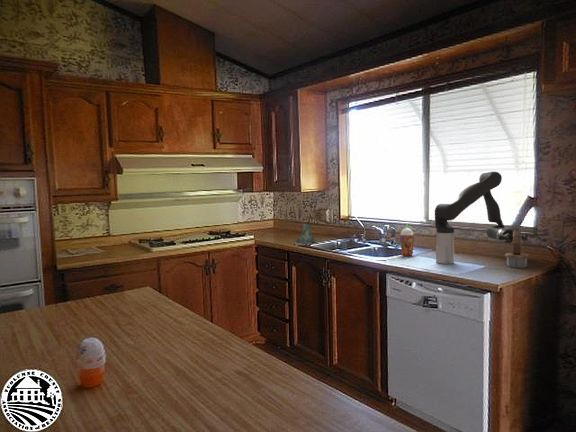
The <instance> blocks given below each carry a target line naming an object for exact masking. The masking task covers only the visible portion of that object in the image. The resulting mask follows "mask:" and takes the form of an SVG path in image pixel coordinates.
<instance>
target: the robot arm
mask: <svg viewBox="0 0 576 432" xmlns="http://www.w3.org/2000/svg"><path fill="white" fill-rule="evenodd" d="M502 178H503V177H502V175H501V173H500V172H498V171H489V172H484V173H482V174H480V176H479V178H478V182H476V183H473V184H471V185H469V186H467V187H466V188H464V189H463V190H461V191H460V192H459V195H458V198H457V200H456V201H454V202H452V203H439V204H437V205H436V206H435V209H434V225H435V226H434V227H435V229H436V245H435V263H436V264H443V265H450V264H455V227H453V226H451V224H449V221H454V220H455V219H456V218H457V217H458V216H459V215H461V214H462V212H464V210H466V209H467V208H468V207H470V206H471V205H472V204H474V203H475V202H476V201H478V200H479V199H480V198H482V197H483V200H484V202H485V206H486V212H487V220H488V222H489V223H496V224H498V225H492V226H489V227H487V229H486V235H487V237H488V238H489V239H491V240H493V239H495V240H498V241H500V242H501V241H502V242H504V243H505V244H511V243H513V231H514V230H512V229H510V228H507V227H505V226H504V223H503V220H502V218H501V217H502V215H501V210H500V206H499V203H498V202H497V200H495V198H494V196H493V194H492V192H491V190H493V189H495V188H497V187H499V186H500V185H501V183H502V180H503V179H502ZM528 237H529V235H528V234H524V233H521V241H524V242H527V241H528V240H529V238H528Z"/></svg>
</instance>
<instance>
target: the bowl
mask: <svg viewBox="0 0 576 432" xmlns="http://www.w3.org/2000/svg"><path fill="white" fill-rule="evenodd" d="M506 265H507V267H509V268H519V269H522V268H527V266H528V258H523V259H517V258H508V257H506Z"/></svg>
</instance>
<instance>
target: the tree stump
mask: <svg viewBox="0 0 576 432" xmlns="http://www.w3.org/2000/svg"><path fill="white" fill-rule="evenodd" d="M302 226H303V227H302V231H301V234H300V235H299V236H298V237H297V239H295V240H294V241H293V242H296V243H301V244H309V243H313V242H314V243H315V242H316V241H317V238H314V237H313V235H312V225H311V224H307V223H303V225H302ZM314 243H313V244H314Z"/></svg>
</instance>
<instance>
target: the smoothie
mask: <svg viewBox="0 0 576 432" xmlns="http://www.w3.org/2000/svg"><path fill="white" fill-rule="evenodd" d="M399 235H400V249H401V255H402V256H403V257H411V256H412V257H413V254H414V253H413V252H414V235H415V233H414V231H413V230H412V229H411V228H409V227H408V223H406V227H405V228H403V229H402V230H401V232H400V233H399Z"/></svg>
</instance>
